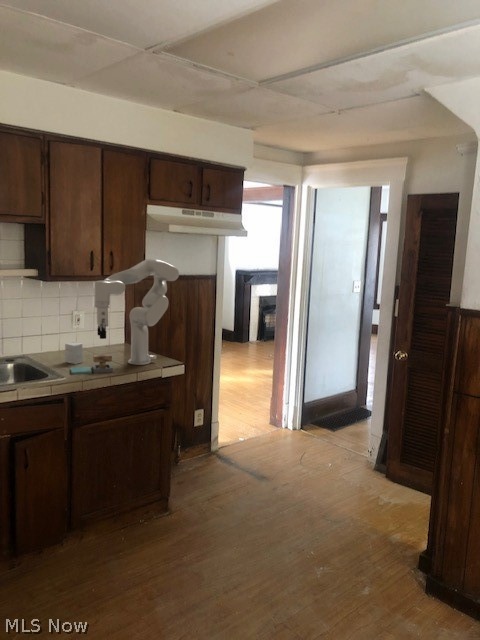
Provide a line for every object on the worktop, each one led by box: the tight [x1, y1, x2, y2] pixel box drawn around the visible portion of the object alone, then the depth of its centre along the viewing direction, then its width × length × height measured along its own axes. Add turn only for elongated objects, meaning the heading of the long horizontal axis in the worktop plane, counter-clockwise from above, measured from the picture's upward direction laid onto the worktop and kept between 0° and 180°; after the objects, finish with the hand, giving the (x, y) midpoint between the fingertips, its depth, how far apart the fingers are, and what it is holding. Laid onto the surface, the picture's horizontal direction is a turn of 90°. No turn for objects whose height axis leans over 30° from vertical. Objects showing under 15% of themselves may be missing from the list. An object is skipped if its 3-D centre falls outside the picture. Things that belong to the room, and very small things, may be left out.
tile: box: [69, 366, 93, 375], centre depth 278 cm, size 10×10×1 cm
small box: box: [64, 342, 84, 365], centre depth 295 cm, size 8×6×10 cm
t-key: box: [92, 353, 113, 368], centre depth 281 cm, size 9×5×8 cm, turn 111°
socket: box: [91, 363, 115, 374], centre depth 282 cm, size 10×10×2 cm
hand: (101, 336), depth 279 cm, fingers open, 9 cm apart
